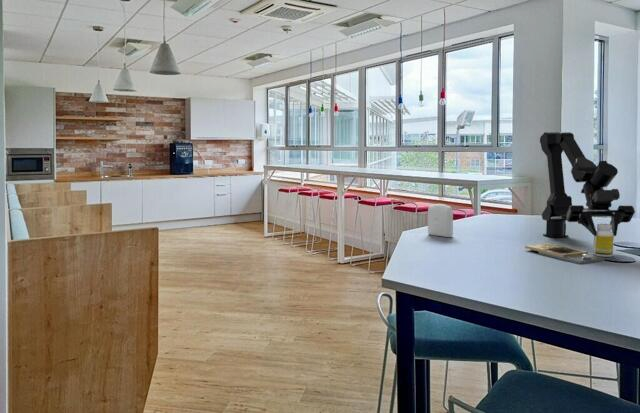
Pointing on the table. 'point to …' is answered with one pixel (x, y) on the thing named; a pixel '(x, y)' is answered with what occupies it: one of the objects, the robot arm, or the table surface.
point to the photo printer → (440, 220)
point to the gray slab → (571, 255)
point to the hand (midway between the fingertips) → (605, 235)
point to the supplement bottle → (603, 241)
